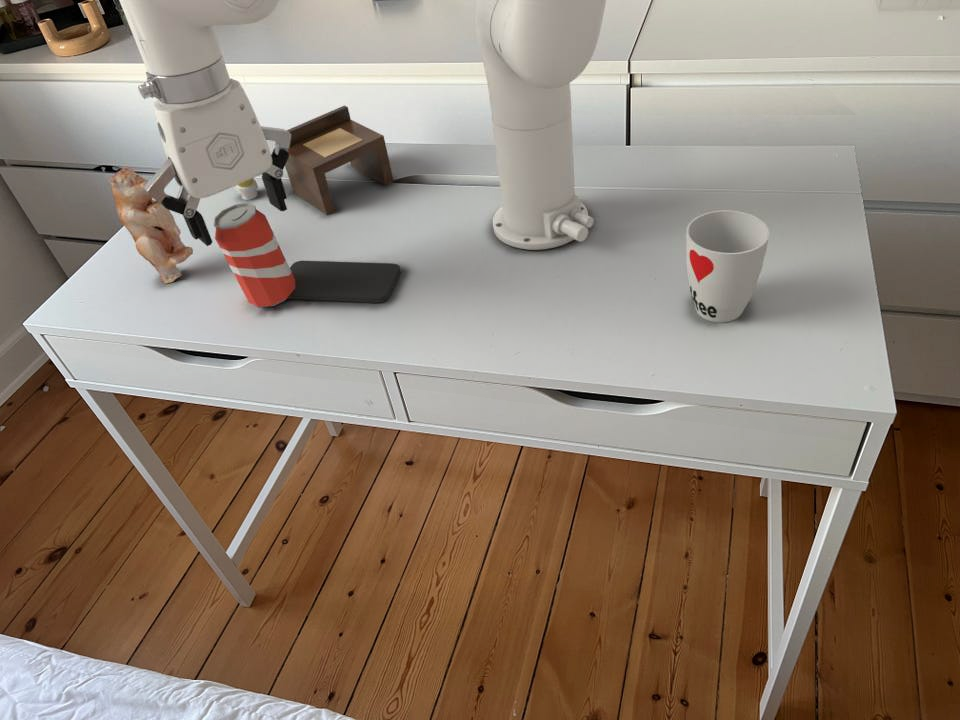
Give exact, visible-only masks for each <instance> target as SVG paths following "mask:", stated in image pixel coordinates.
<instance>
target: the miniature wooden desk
mask: <svg viewBox="0 0 960 720" xmlns="http://www.w3.org/2000/svg"><path fill="white" fill-rule="evenodd" d="M285 130H286V131H288V132H290V133H291V141H290V148H289V150H288V153H289V158H288V160H287V162H286V164H285V166H284V168H285V170H286V173H287V176H288V180H289V182H290V186H291V189H292V192H293V194H294V195H296V196H298V197H299V198H301V199H302V200H303V201H305V202H307V203H308V204H310V205H311V206H312V207H314V208H315V209H317V210H318V211H320V212H322V213H324V215H327V216H328V215H330V214H332V213H335V212H336V208H335V204H334V201H333V197H332V194H331V190H330V187H329V183H328V179H327V177H326V174H327V173H329V172H331V171H334V170H336V169H337V168H338V169H339V168H340V167H342V166H344V165H346V164H349V163H350V166H351V167H352V168H354V169H356V170H357V171H359V172H361V173H363V174H365V175H366V176H368V177H370V178H372V179H374V180H376V181H377V182H379V183H380V184H382V185H384V186H388V185H390V184H392V183H394V182H395V180H394V175H393V172H392V167H391V163H390V158H389V154H388V148H387V145H386V140H385V135H383V134H381V133H379V132H377V131H375V130H373V129H371V128H369V127H367V126H365V125H362V124H361V123H359V122H358V121H355V120H353V119H351V115H350V110H349V107H348V106H346V105H342V106H339V107H338V108H335V109H333V110H331V111H328V112H325V113H324V114H321V115H319V116H316V117H314V118H312V119H309V120H308V121H305V122H303V123H299V124H298V125H295V126H293V127H290V128H289V129H285Z"/></svg>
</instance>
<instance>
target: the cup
mask: <svg viewBox="0 0 960 720" xmlns="http://www.w3.org/2000/svg"><path fill="white" fill-rule="evenodd" d="M685 232H686V234H685V235H686V236H685V237H686V240H685V241H686V271H687V279H688V286H689V287H688V288H689V292H690V293H689V294H690V296H691V299H692V302H693V305H694V308H695V312H696V313H697V314H698V316H700V317H701V318H702V319H704V320H706V321H709V322H713V323H729V322H732V321H734V320H737V319H738V318H739V317H740V316H741V315H742V314H743V313H744V310H745V309H746V307H747V305H748V304H749V302H750V300H751V299H752V296H753V294H754V291H755V288H756V287H757V283H758V281H759V278H760V275H761V273H762V269H763V266H764V261H765V256H766V251H767V248H768V243H769V239H770V228H769V227H768V225H767V224H766V222H765V221H763V220H762V219H760V218H759V217H757V216H755V215H753V214H751V213H748V212H744V211H740V210H728V209H727V210H725V209H724V210H714V211H709V212H705V213H702V214H700V215H698V216H696V217H694V218H693V219H691V220H690V222H689V223H688V225H687V226H686V231H685Z"/></svg>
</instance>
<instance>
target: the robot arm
mask: <svg viewBox="0 0 960 720" xmlns="http://www.w3.org/2000/svg"><path fill="white" fill-rule="evenodd" d="M118 1H119V4H120V6H121V8H122V11H123V13H124V16H125V19H126V21H127V23H128V26H129V28H130V30H131V34H132V36H133V39H134V41H135V44H136V46H137V49H138V52H139V53H140V56H141V59H142V62H143V64H144V66H145V70H146V71H145V75H146V81H144V82H143V84H140V85H138V86H137V89H138V91H139V94H140V96H141V97H142V98H143V99H144V100H146V99H150V98H152V99H154V98H155V99H157V100H155V101H154V103H153V107H154V113H155V119H156V124H157V128H158V132H159V136H160V140H161V143H162V147H163V150H164V154H165V157H166V161H164V163H163V164H162V165H161V166H160V168H159V169H157V171H156V172H155V173H154V174H153V175H152V177H151V178H150V179H149V180H148V182H147V184H146V185H145V186H144V191H145V192H146V193H147V194H148V195H149V196H151V197H152V199H153V200H155V201H157V202H158V203H160V204H161V205H162V206H164V207H165V208H166V209H168V210H169V211H170V212H174V213H177V214H179V215H182V217H183V219H184V221H185V225H186V226H187V228H188V231H189V233H190V235H191V237H192V238H193V239H194V240H199V241H201V242H202V243H203V244H204V245H205V246H206V247H209V246H212V245H213V244H212V243H213V240H212V237H211V234H210V232H209V229H208V227H207V224H206V221H205V219H204V217H203V215H202V214H201V212H200V211H198V206H199V204H200V202H201V199H207V198H209V197H212V196H214V195H217V194H219V193H222V192H224V191H226V190H229V189H231V188H235V186H236V185H238V184H240V183H243V182H245V181H247V180H250V179H252V178H257V177H258V176H260V175H261V180H262V184H263V186H264V189H265V192H266V195H267V198H268V201H269V203H270V205H271V206H272V207H274V208H275V209H277V210H278V211H279V212H286V211H287V210H288V208H287V204H286V201H285V200H287V193H286V190H285V187H284V183H283V181H282V178H283V177H284V174H285V173H284V169H285V164H286V162H287V160H288V158H289V153H288V150H289V148H290V141H291V133H290V132H288V131H286V130H287V129H284V128H279V127H271V126H262V125H261V124H260V121H259V119H258V117H257V115H256V112H255V110H254V107H253V106H252V104H251V101H250V100H249V98H248V95H247V93H246V91H245V90H244V88H243V86H242V85H241V83H240V81H238V80H236V79H234V78H230V76H229V72H228V69H227V65H226V63H225V59H224V56H223V54H222V50H221V47H220V44H219V40H218V37H217V34H216V32H215V28H214V26H242V25H250V24H255V23H259V22H261V21H262V20H264V19H266V18H267V17H269V16H271V14H272V13H273V12H274V11H275V9H276V8H277V7H278V5H279V3H280V0H118ZM606 3H607V0H477V1H476V5H475V15H474V17H475V18H474V19H475V29H476V30H475V31H476V36H477V41H478V46H479V49H480V54H481V59H482V63H483V67H484V68H483V69H484V73H485V77H486V82H487V83H486V84H487V90H488V95H489V104H490V112H491V113H490V114H491V124H492V132H493V141H494V149H495V155H496V165H497V173H498V182H499V189H500V197H501V206H500V208H498V209H497V210H496V212H495V213H494V215H493V217H492V228H493V233H494V235H495V236H496V237H497V239H498V240H499V241H501V242H502V243H504V244H506V245H508V246H510V247H512V248H516V249H521V250H527V251H529V250H530V251H540V250H549V249H553V248H557V247H562V246H564V245H566V244H568V243H570V242H573V241H574V240H575V241H576V242H579V243H582V242H584V241H585V240H586V239H587V237H588V235H589V229H590V228H592V227H593V225H594V223H595V219H594V217H592V216H590V215H589V213H588V209H587V207H586V205H585V204H584V203H583V202H582V199H581V197H580V196H578V195H576V185H575V166H574V165H575V164H574V145H573V144H574V143H573V123H572V96H571V95H572V94H571V85H570V83H572V82H573V81H574V80H576V79H577V78H578V77H579V76H580V75H581V74H582V73H583V72H584V71H585V70H586V68H587V66H588V65H589V63H590V62H591V60H592V57H593V55H594V53H595V51H596V47H597V45H598V42H599V41H598V40H599V38H600V33H601V28H602V24H603V20H604V19H603V18H604V14H605V8H606ZM267 141H271V142H272V141H273V142H275V143H274V148H273V150H272V152H271V151H270V147H269V145H268V142H267ZM173 179H174V180H175V182H176V183H177V185H178V186H179V190H178V193H177V196H176V197H175V196H171V195H169V194H167V193H166V192H165V189H166V187H167V186H168V185H169V184H170V183H171V182H172V181H173Z"/></svg>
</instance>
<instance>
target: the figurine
mask: <svg viewBox="0 0 960 720" xmlns="http://www.w3.org/2000/svg"><path fill="white" fill-rule="evenodd" d="M148 181H149V180H148V179H146V178H144V177H143V176H142V175H140V174H139V173H137V172H135V171H134V169H133V168H132V167H130V166H123V167H121V168H120V169H119V170H118V171H117V172H116V173H115V174H114V175H112V176H111V177H110V179H109V181H108V182H109V184H110V189H111V192H112V196H113V200H114V205H115V209H116V214H117V216H118V218H119V220H120V222H121V223H122V225H123V226H124V227H125V229H126V230H127V231H128V232H129V234H130V235H131V237H132V239H133V241H134V243H135V249H136V251H137V252H138V254H139V255H140V256H141V257H142V258H143V259H144V260H146V261H148V262H149V263H150V265H151V267H153V268H154V269H155V270H156V271H157V272H158V275H159V276H160V278H161V279H160V282H161V283H163V284H170V283H173V282H174V281H175V280H176V279H178V278H181V277H182V275H183V274H182V271H181V270H180V269H179V268H178V267H177V265H179V264H181V263H184V262H185V261H186V260H187V259H189V258H190V257H191V255H193V254H194V248H193V247H192V246H187V245H185V244H184V242H183V241H182V239H181V237H180V235H181V233H182V232H181V229H180V228H179V226H178V224H177V222H176V220H175V217H174V215H173V214H172V211H171V210H168V209H166V208H165V207H164V206H162V205H161V204H160V203H158V202H157V201H156V200H155V199H153V198H152V197H151V196H149V195H148V194H147V193H146V192H145V191H144V186H145V185H146V184H147V182H148Z"/></svg>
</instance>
